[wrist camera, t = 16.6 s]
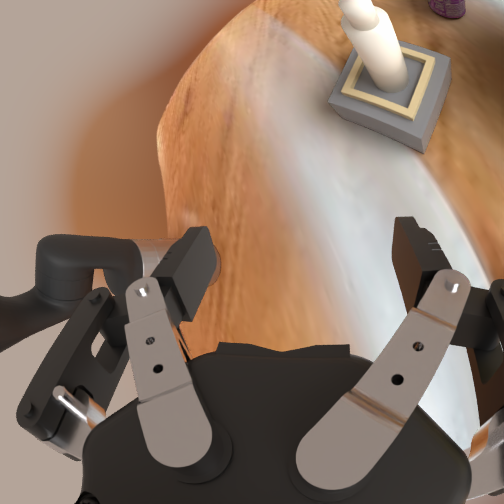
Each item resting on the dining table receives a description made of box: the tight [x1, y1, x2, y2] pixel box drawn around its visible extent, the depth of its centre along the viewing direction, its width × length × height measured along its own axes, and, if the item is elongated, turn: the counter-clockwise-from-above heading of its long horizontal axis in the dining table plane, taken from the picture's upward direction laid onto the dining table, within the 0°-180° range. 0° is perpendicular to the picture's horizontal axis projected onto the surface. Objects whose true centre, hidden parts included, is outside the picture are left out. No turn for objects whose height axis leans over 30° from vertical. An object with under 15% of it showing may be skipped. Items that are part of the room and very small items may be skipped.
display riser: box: [328, 40, 452, 154], centre depth 31 cm, size 14×14×7 cm
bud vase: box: [339, 0, 409, 93], centre depth 23 cm, size 5×5×15 cm
